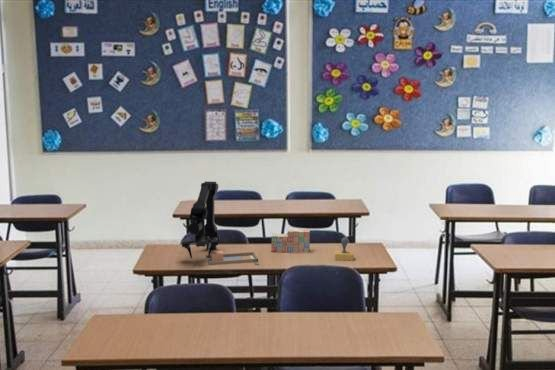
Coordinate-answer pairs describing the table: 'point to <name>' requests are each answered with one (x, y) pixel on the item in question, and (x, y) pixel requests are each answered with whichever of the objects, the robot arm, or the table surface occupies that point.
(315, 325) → the table surface
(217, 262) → the box
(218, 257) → the terracotta block
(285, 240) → the stack of blocks
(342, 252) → the rubber stamp
